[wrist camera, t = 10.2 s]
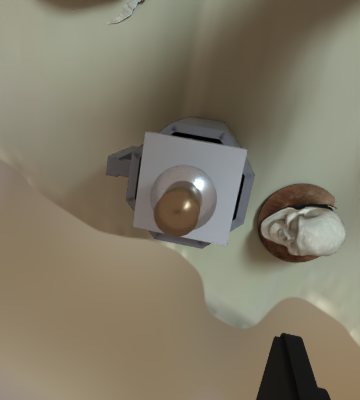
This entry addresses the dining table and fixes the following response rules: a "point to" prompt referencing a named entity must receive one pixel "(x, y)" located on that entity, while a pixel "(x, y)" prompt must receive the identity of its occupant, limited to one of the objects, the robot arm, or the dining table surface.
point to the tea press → (195, 156)
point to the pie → (125, 11)
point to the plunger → (183, 197)
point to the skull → (300, 224)
